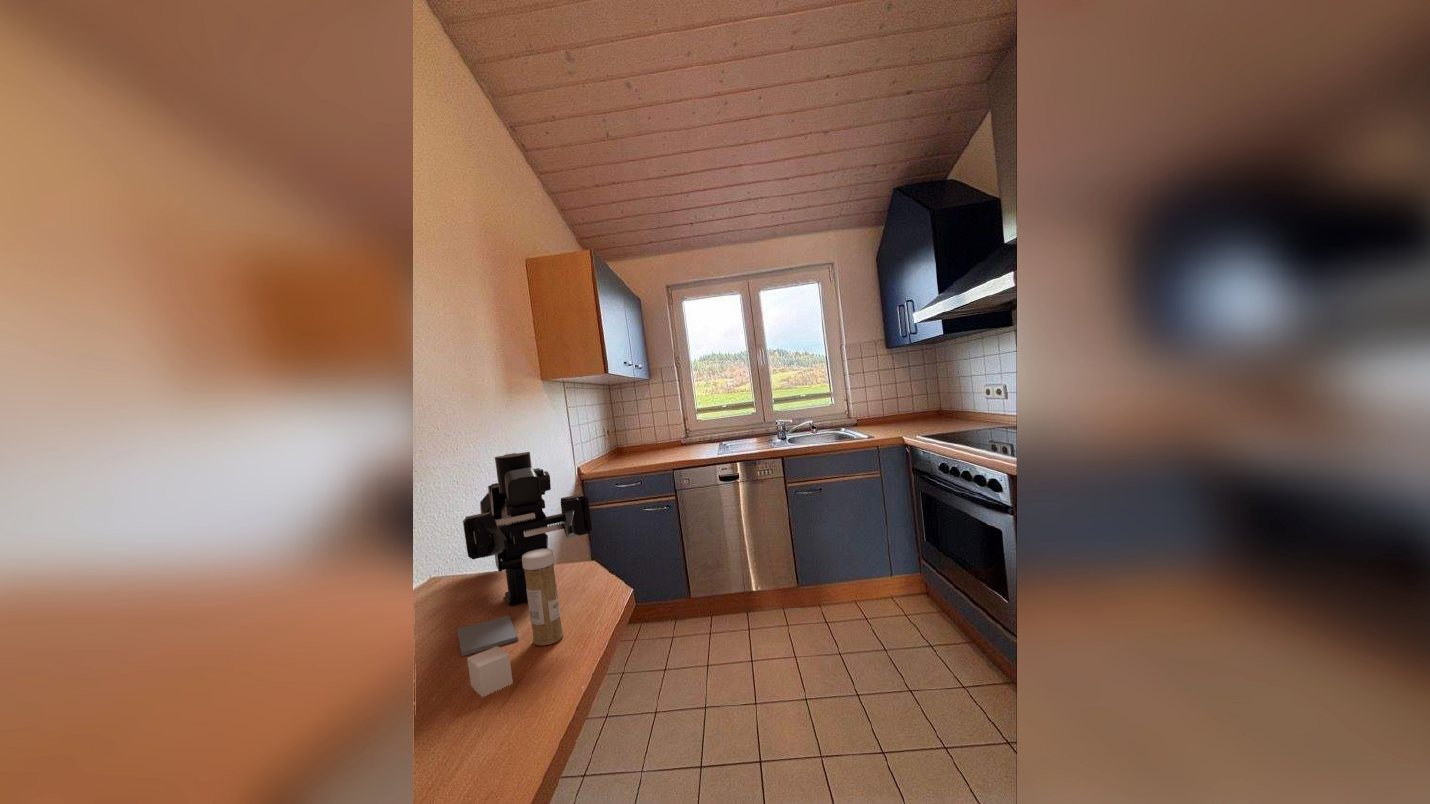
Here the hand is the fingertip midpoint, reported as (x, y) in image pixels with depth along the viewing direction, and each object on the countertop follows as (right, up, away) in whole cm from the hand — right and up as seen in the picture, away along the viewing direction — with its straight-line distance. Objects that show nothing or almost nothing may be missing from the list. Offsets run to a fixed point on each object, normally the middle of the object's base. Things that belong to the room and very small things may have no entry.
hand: (539, 536), depth 87 cm
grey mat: (-10, -17, +8) cm, 22 cm away
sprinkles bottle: (0, -17, +4) cm, 17 cm away
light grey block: (-4, -18, -8) cm, 20 cm away
